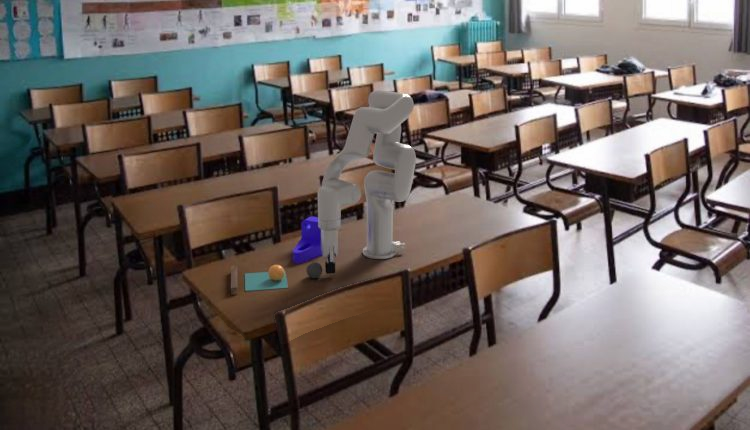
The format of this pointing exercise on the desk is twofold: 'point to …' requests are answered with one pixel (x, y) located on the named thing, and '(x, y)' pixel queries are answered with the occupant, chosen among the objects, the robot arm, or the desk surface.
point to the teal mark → (263, 282)
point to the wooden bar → (234, 280)
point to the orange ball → (276, 272)
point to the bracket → (308, 241)
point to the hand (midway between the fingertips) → (330, 272)
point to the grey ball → (314, 270)
